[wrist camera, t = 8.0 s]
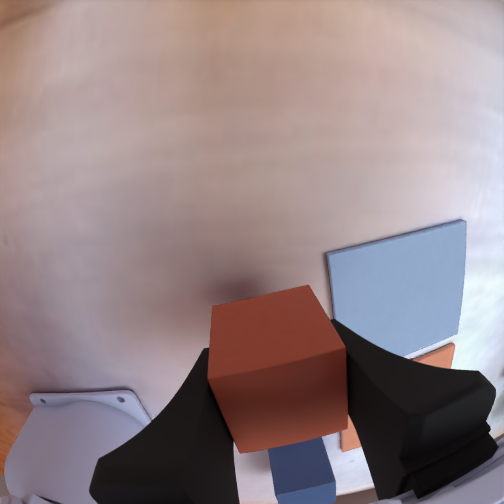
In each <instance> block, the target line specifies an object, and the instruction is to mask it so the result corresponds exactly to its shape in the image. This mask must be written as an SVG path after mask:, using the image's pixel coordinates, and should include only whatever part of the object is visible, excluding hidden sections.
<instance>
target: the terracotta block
mask: <svg viewBox="0 0 504 504" xmlns="http://www.w3.org/2000/svg"><path fill="white" fill-rule="evenodd" d="M207 379H208V381H209V384H210V386H211V389H212V391H213V394H214V396H215V399H216V401H217V403H218V406H219V408H220V410H221V413H222V415H223V417H224V420H225V422H226V424H227V427H228V429H229V431H230V433H231V436H232V438H233V440H234V442H235V444H236V447H237V449H238V451H239V453H240V454H242V453H248V452H254V451H260V450H265V449H270V448H276V447H280V446H285V445H290V444H294V443H298V442H303V441H307V440H311V439H315V438H318V437H322V436H326V435H329V434H333V433H336V432H340V431H343V430H346V429H348V390H347V364H346V347H345V345H344V343H343V342H342V340H341V338H340V337H339V335H338V333H337V331H336V330H335V328H334V326H333V325H332V323H331V321H330V320H329V318H328V316H327V314H326V313H325V311H324V309H323V308H322V306H321V304H320V303H319V301H318V299H317V298H316V296H315V294H314V293H313V291H312V289H311V288H310V286H309V285H305V286H300V287H296V288H292V289H288V290H284V291H279V292H275V293H271V294H266V295H262V296H257V297H253V298H248V299H244V300H239V301H235V302H230V303H225V304H221V305H216V306H213V307H212V317H211V331H210V345H209V360H208V377H207Z"/></svg>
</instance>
